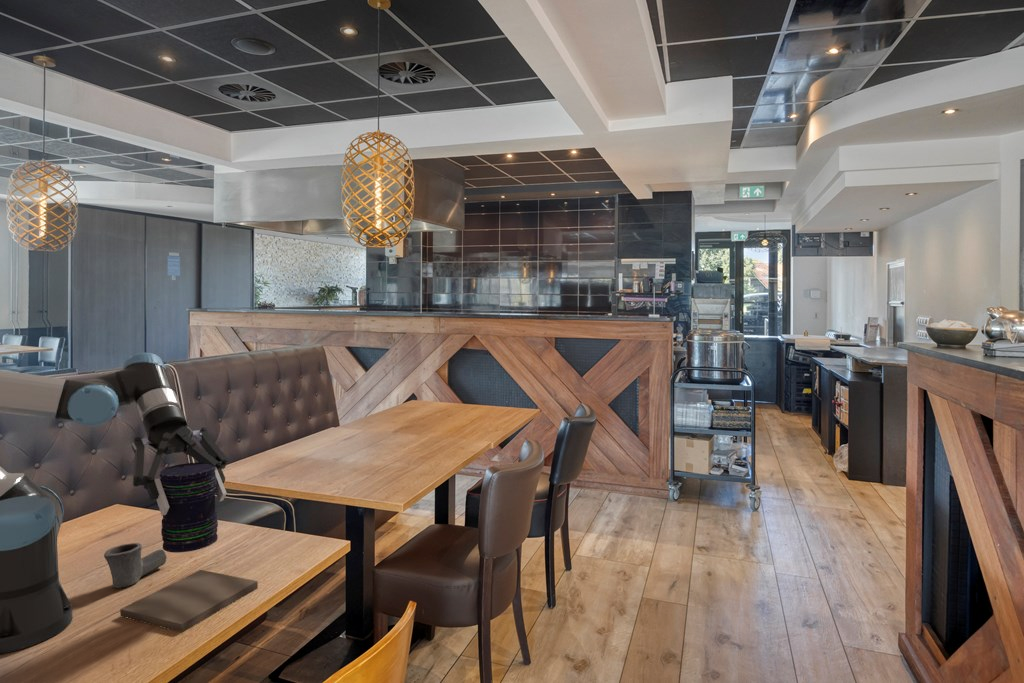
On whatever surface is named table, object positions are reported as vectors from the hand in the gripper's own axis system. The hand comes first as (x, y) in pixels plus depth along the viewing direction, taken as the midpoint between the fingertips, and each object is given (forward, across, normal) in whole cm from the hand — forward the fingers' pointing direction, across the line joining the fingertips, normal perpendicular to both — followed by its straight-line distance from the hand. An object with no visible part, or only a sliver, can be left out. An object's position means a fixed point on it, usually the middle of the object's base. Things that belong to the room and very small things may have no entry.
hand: (195, 504), depth 114 cm
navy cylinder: (+4, 0, -8) cm, 9 cm away
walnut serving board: (+12, 0, -17) cm, 21 cm away
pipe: (-2, +4, -31) cm, 32 cm away
